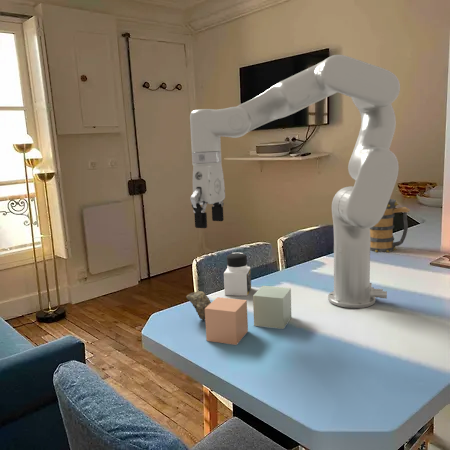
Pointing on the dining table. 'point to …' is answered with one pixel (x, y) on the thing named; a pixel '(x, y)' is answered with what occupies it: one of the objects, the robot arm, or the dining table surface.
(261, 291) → the sage green cube
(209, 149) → the robot arm
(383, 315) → the dining table surface
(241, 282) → the medicine bottle
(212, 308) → the salmon pink box
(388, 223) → the mug
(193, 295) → the rock
